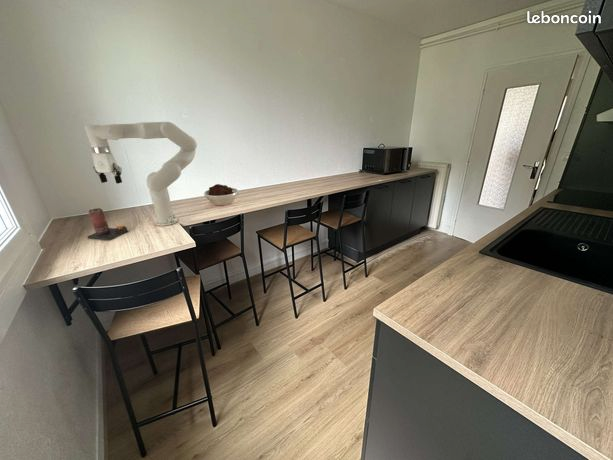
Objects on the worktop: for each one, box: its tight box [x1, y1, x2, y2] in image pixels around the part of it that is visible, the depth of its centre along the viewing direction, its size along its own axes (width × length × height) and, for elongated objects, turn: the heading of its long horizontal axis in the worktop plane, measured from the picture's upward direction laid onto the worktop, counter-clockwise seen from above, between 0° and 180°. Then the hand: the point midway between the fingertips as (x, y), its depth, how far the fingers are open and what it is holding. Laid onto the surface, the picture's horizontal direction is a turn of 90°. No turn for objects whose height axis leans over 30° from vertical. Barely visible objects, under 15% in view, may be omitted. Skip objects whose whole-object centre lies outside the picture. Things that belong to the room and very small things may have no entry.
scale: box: [87, 225, 128, 241], centre depth 142 cm, size 15×13×3 cm
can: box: [88, 207, 110, 235], centre depth 139 cm, size 6×6×14 cm
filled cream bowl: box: [203, 183, 239, 206], centre depth 192 cm, size 25×25×15 cm
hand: (111, 182), depth 139 cm, fingers open, 9 cm apart
